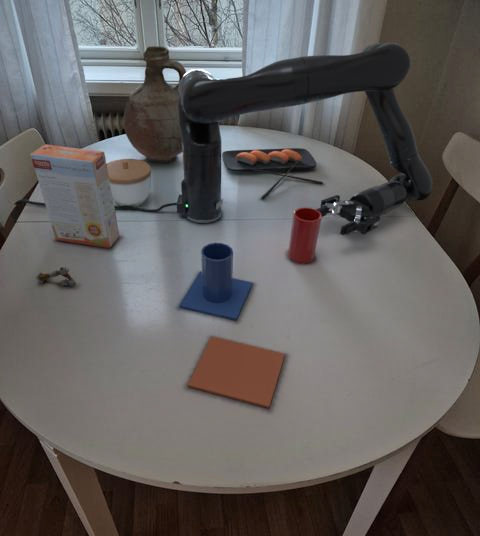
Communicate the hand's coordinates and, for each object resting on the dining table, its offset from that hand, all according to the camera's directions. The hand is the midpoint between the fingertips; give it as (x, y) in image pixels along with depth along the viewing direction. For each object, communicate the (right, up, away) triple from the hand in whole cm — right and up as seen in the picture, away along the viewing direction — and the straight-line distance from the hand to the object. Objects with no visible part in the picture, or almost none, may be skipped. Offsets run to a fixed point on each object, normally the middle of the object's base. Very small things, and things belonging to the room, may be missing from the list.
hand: (328, 222), depth 100 cm
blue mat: (-25, -18, -11) cm, 33 cm away
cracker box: (-57, -3, +3) cm, 57 cm away
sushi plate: (-10, +22, +32) cm, 40 cm away
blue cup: (-25, -18, -11) cm, 33 cm away
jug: (-46, +30, +39) cm, 67 cm away
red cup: (-6, -8, +1) cm, 10 cm away
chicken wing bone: (-59, -15, -10) cm, 62 cm away
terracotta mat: (-21, -32, -25) cm, 46 cm away
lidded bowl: (-50, +10, +17) cm, 54 cm away
